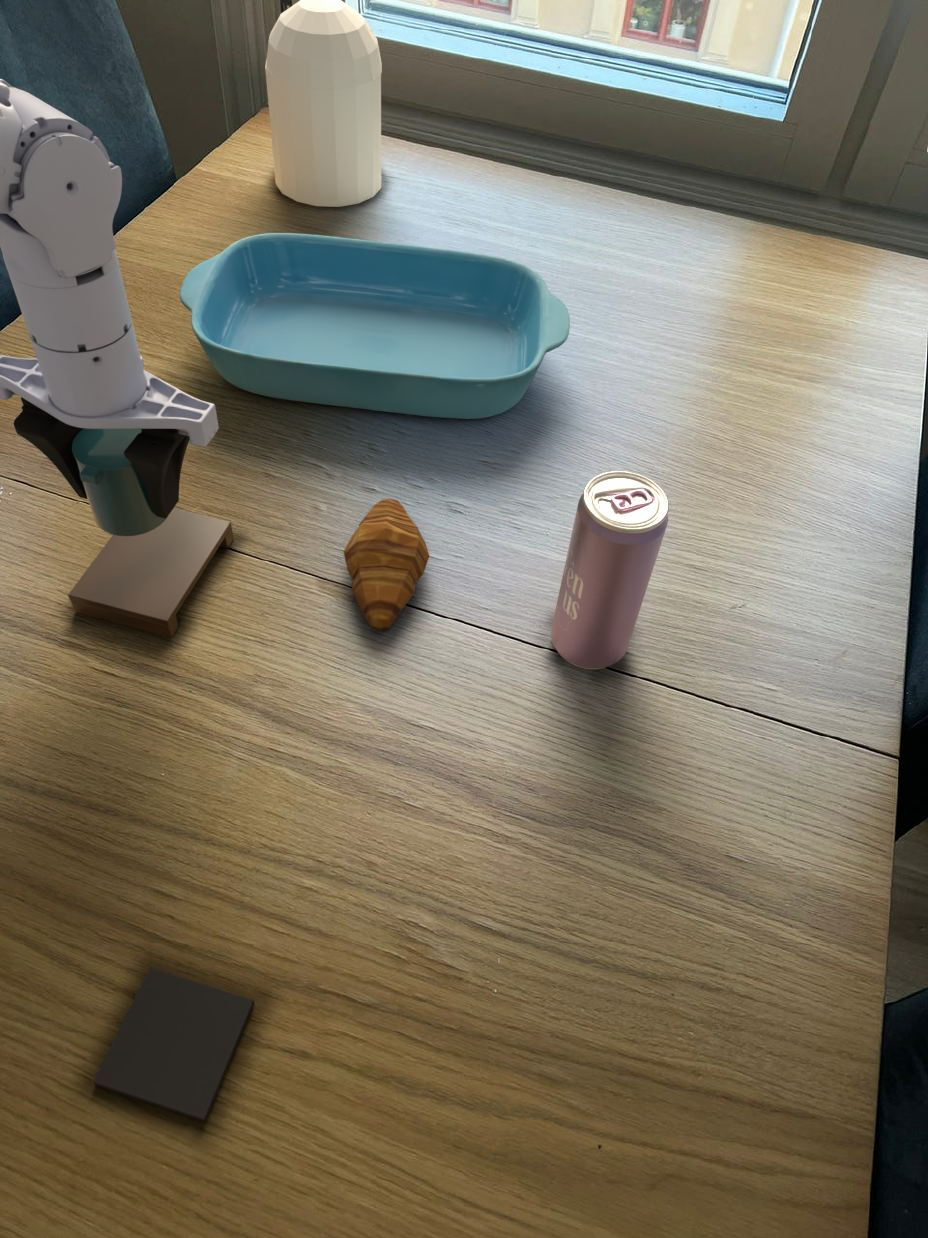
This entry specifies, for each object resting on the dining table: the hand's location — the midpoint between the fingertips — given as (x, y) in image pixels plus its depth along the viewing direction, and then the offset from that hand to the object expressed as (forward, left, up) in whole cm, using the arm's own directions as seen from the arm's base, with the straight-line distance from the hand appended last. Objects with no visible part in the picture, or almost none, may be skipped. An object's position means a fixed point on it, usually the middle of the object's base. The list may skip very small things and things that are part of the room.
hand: (129, 498), depth 64 cm
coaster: (+16, -29, -10) cm, 35 cm away
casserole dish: (+6, +35, -10) cm, 37 cm away
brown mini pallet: (-1, +2, -10) cm, 11 cm away
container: (-12, +69, -10) cm, 71 cm away
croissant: (+16, +8, -10) cm, 21 cm away
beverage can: (+33, +6, -10) cm, 35 cm away
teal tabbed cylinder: (0, 0, -1) cm, 1 cm away
